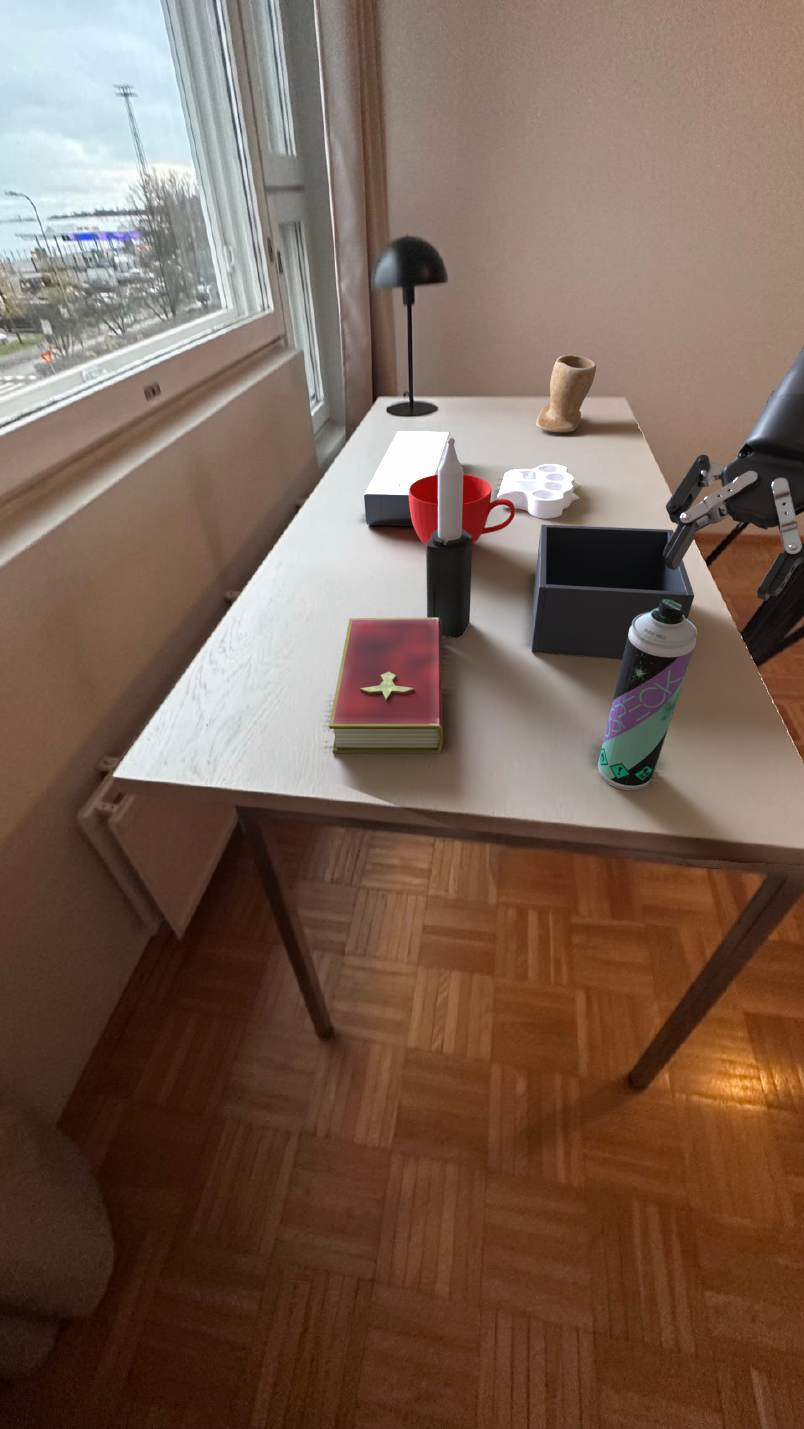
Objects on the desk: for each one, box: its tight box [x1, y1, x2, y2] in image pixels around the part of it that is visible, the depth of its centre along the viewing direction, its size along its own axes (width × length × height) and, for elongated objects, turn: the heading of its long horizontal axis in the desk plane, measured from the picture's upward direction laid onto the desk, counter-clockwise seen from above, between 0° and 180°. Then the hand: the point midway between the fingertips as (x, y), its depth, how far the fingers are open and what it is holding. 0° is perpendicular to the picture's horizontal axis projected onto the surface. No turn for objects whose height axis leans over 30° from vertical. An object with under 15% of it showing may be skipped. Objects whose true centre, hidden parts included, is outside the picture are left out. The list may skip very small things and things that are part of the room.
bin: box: [531, 524, 695, 660], centre depth 84 cm, size 18×18×10 cm
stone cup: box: [535, 353, 597, 433], centre depth 146 cm, size 15×12×15 cm
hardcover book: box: [328, 617, 444, 754], centre depth 75 cm, size 12×21×4 cm, turn 178°
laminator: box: [363, 430, 451, 527], centre depth 122 cm, size 34×12×6 cm, turn 171°
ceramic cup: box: [409, 473, 516, 547], centre depth 101 cm, size 13×17×10 cm
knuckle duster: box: [496, 463, 581, 520], centre depth 118 cm, size 3×18×15 cm
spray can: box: [597, 598, 698, 791], centre depth 59 cm, size 6×6×20 cm
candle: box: [425, 437, 474, 639], centre depth 79 cm, size 5×5×25 cm
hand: (713, 580), depth 58 cm, fingers open, 8 cm apart
